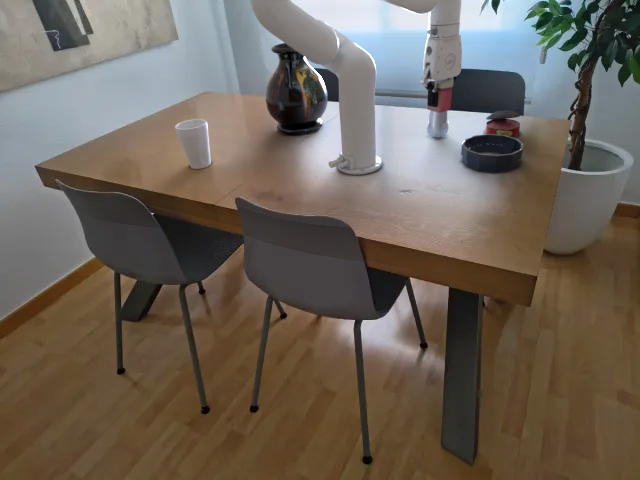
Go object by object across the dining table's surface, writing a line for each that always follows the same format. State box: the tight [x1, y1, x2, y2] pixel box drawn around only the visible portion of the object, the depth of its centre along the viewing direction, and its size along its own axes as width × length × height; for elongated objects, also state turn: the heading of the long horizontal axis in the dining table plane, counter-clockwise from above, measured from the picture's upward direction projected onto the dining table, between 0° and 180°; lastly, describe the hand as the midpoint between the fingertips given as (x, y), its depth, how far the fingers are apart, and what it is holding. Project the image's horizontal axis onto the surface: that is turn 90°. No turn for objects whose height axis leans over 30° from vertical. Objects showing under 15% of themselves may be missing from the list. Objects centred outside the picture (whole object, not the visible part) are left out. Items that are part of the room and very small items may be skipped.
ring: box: [460, 133, 525, 174], centre depth 122 cm, size 15×15×5 cm
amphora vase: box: [265, 42, 329, 136], centre depth 152 cm, size 22×22×28 cm
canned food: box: [484, 109, 521, 138], centre depth 138 cm, size 11×10×10 cm
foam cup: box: [174, 118, 212, 170], centre depth 136 cm, size 10×9×13 cm
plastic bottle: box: [426, 110, 449, 138], centre depth 137 cm, size 6×7×20 cm
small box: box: [426, 79, 453, 113], centre depth 120 cm, size 5×4×8 cm
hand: (439, 103), depth 121 cm, fingers closed on small box, 4 cm apart
